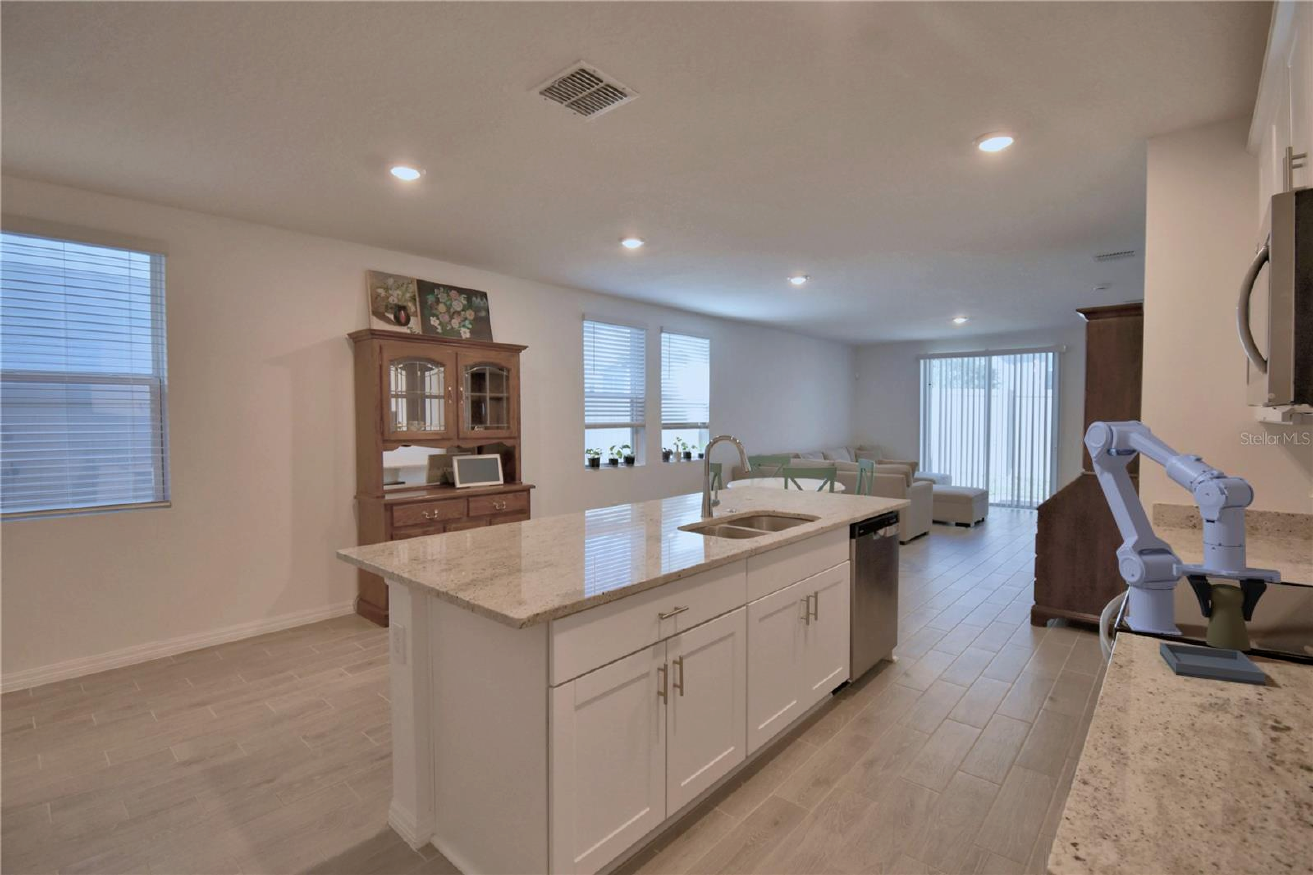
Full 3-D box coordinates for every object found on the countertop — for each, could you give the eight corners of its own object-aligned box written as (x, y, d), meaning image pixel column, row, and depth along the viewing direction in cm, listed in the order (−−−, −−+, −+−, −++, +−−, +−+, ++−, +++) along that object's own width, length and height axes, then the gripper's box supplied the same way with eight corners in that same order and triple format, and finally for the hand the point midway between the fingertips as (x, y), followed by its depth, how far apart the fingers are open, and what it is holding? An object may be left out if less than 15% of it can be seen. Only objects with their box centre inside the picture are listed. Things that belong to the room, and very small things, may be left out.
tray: (1159, 653, 114) (1159, 642, 114) (1240, 662, 109) (1239, 650, 109) (1175, 674, 104) (1175, 662, 104) (1265, 685, 99) (1265, 673, 99)
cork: (1253, 652, 108) (1250, 589, 109) (1207, 647, 112) (1204, 585, 112) (1248, 644, 113) (1244, 583, 114) (1204, 639, 117) (1201, 580, 117)
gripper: (1179, 545, 113) (1181, 619, 113) (1287, 550, 106) (1289, 629, 106) (1169, 538, 119) (1170, 609, 119) (1271, 543, 112) (1272, 618, 112)
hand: (1225, 618), depth 113 cm, fingers closed on cork, 5 cm apart
